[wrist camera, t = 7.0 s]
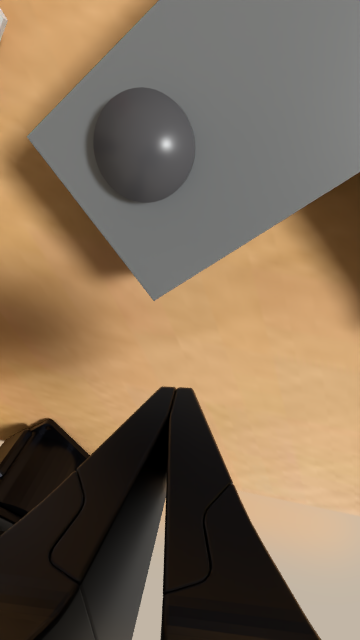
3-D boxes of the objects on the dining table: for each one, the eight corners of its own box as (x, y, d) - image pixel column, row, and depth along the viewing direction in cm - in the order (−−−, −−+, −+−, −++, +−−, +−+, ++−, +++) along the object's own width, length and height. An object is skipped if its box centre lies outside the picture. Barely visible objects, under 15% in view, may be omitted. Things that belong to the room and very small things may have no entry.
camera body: (382, 130, 15) (456, 122, 10) (172, 268, 20) (153, 309, 15) (299, -70, 13) (344, -206, 8) (78, 139, 17) (17, 136, 12)
